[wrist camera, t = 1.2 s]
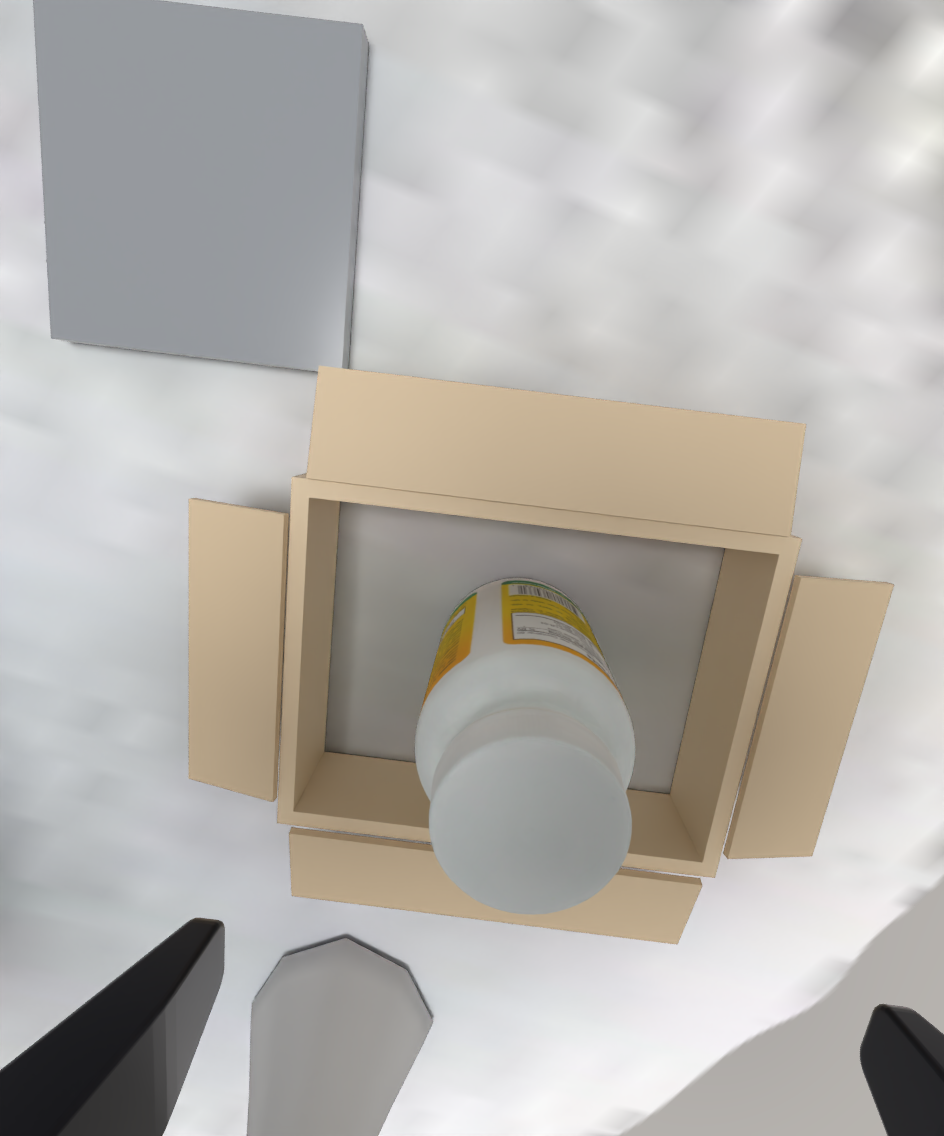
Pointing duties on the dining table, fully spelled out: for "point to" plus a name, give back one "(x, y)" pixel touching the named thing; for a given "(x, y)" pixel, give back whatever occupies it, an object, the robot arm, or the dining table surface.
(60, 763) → the dining table surface
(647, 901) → the carton
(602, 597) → the dining table surface
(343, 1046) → the flask
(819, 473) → the dining table surface
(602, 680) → the supplement bottle
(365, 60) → the plate
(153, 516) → the dining table surface
